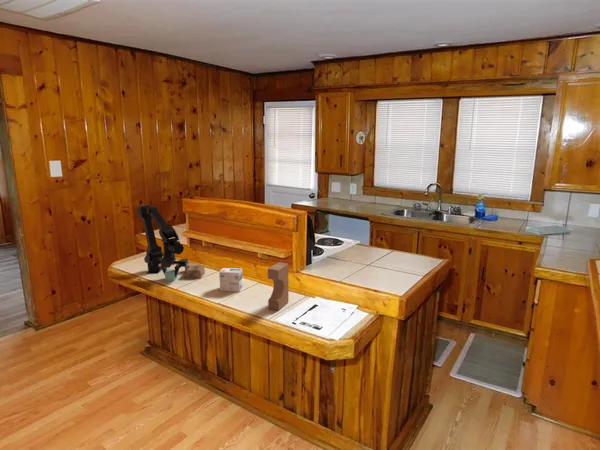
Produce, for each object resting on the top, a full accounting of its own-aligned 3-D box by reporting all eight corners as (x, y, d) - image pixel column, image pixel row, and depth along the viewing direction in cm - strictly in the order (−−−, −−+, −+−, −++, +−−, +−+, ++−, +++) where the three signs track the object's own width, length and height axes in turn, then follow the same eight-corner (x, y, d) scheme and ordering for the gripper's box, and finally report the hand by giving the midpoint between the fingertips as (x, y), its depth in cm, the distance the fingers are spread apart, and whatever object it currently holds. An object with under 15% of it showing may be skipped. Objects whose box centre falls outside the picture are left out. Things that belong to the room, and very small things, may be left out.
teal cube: (165, 280, 221) (164, 272, 220) (168, 277, 226) (167, 269, 225) (174, 281, 221) (173, 272, 220) (177, 277, 226) (176, 269, 225)
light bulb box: (243, 287, 213) (242, 268, 210) (240, 292, 207) (239, 272, 204) (223, 286, 214) (222, 267, 211) (219, 291, 208) (218, 271, 205)
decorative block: (278, 311, 185) (277, 270, 181) (267, 309, 188) (266, 268, 183) (289, 302, 195) (289, 263, 190) (278, 300, 198) (278, 261, 193)
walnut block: (186, 278, 225) (186, 270, 224) (191, 273, 233) (190, 265, 232) (201, 278, 225) (200, 270, 224) (204, 273, 233) (204, 265, 232)
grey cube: (185, 273, 233) (184, 265, 232) (187, 270, 237) (186, 263, 236) (192, 273, 233) (192, 265, 232) (194, 270, 238) (194, 263, 236)
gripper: (146, 254, 212) (149, 282, 216) (181, 255, 211) (183, 282, 215) (154, 248, 223) (156, 275, 226) (187, 248, 222) (189, 275, 226)
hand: (171, 277), depth 223 cm, fingers closed on teal cube, 5 cm apart
